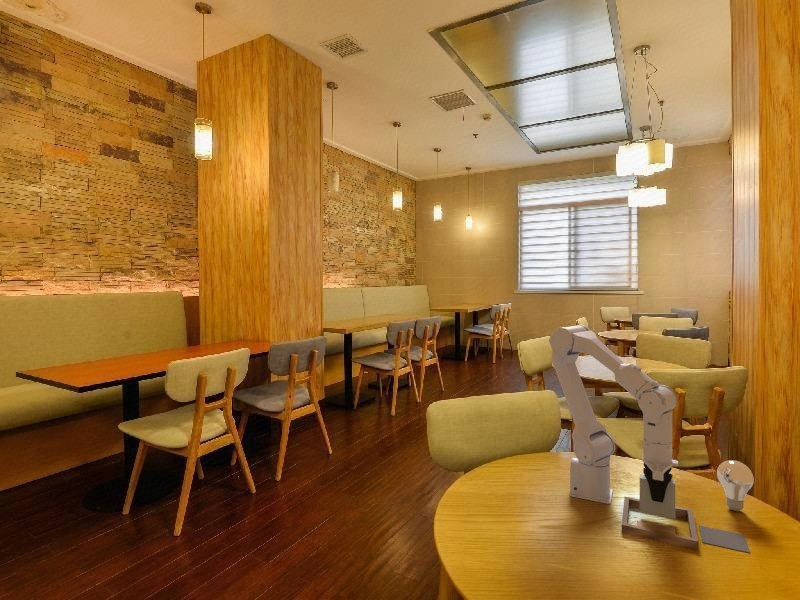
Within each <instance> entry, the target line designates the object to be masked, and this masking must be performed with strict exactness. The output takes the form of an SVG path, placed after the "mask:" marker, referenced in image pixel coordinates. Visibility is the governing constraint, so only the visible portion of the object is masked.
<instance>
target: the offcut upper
mask: <svg viewBox="0 0 800 600" xmlns="http://www.w3.org/2000/svg"><path fill="white" fill-rule="evenodd" d="M636 526H640V527H645V528H649V529H654V530H659V531H663V532H668V533H672V534H676V531H675V527H672V526H667V525H662V524H656V523H653V522H652V523H651V522H647V521H643V520H642V521H641V520H636Z"/></svg>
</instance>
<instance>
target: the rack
mask: <svg viewBox="0 0 800 600" xmlns="http://www.w3.org/2000/svg"><path fill="white" fill-rule="evenodd" d="M623 497H624V499H623V508H622V517H621V534H624V535H629V536H632V537H637V538H641V539H646V540H649V541H655V542H660V543H663V544H667V545H671V546H676V547H681V548H685V549H689V550H693V551H699V539H698V533H697V528H696V522H695V515H694V512H693V511H694V510H693V509H691V508H686V507H681V506H678V505H675V517H678V518H683V519H687V525H688V529H689V536H685V535H681V534H677V533H675V534H672V533H668V532H663V531H659V530H654V529H649V528H645V527H640V526H637V524H636V525H635V524H631V523H629V510H630V508H634V509H637V510H638V509H639V510H640V498H634V497H629V496H623Z"/></svg>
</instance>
